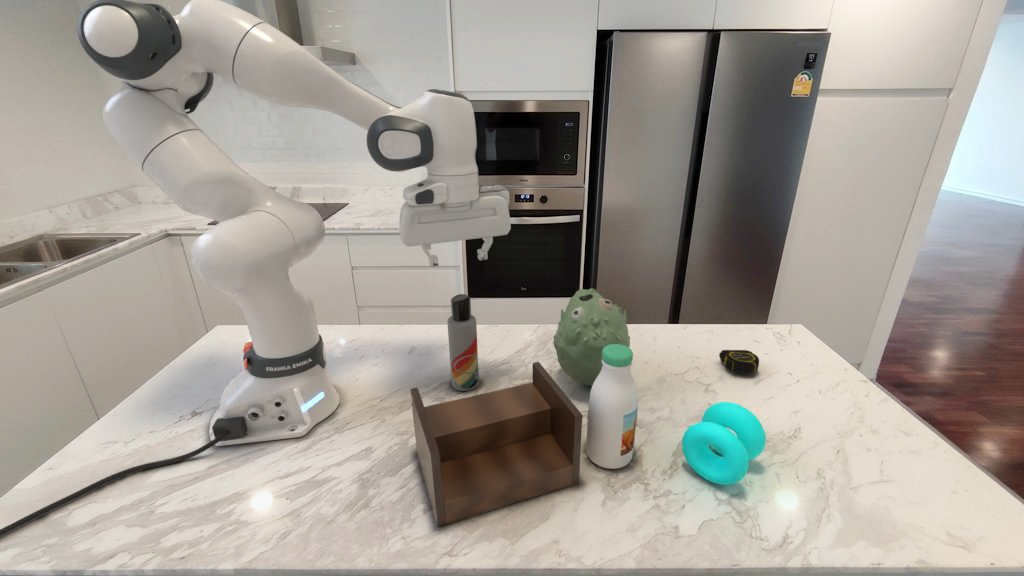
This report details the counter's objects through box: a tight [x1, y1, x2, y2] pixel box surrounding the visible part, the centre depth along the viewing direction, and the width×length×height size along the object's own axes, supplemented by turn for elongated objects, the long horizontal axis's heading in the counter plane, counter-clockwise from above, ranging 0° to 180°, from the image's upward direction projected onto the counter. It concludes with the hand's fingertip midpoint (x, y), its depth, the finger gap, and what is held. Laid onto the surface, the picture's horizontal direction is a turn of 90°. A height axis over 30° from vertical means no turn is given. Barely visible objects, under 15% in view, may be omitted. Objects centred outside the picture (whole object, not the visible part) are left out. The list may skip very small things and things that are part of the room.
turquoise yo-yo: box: [681, 401, 767, 486], centre depth 76 cm, size 10×10×10 cm
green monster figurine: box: [553, 288, 631, 386], centre depth 98 cm, size 16×19×20 cm
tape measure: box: [718, 349, 760, 376], centre depth 104 cm, size 7×7×4 cm
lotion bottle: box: [447, 293, 480, 392], centre depth 97 cm, size 6×6×20 cm
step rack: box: [409, 361, 583, 527], centre depth 76 cm, size 22×16×13 cm
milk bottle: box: [585, 344, 639, 470], centre depth 77 cm, size 8×8×20 cm
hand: (458, 262), depth 90 cm, fingers open, 8 cm apart
